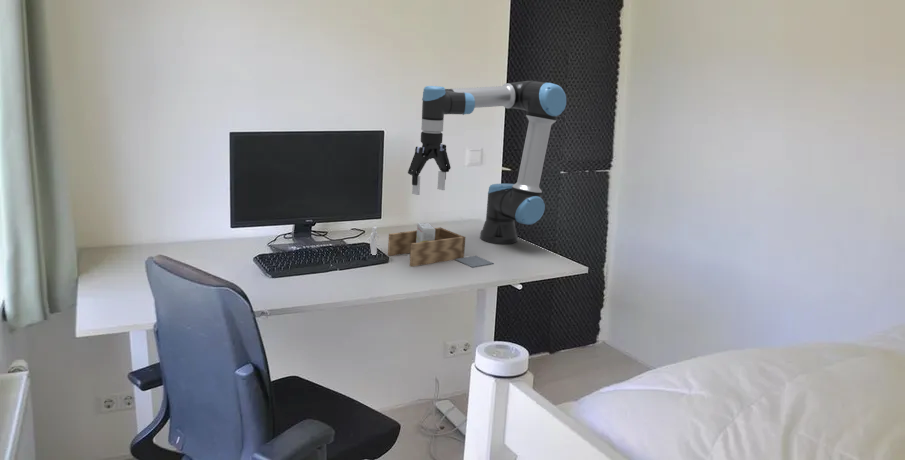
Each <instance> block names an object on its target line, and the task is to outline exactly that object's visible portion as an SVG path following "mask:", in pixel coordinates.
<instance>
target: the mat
mask: <svg viewBox="0 0 905 460" xmlns="http://www.w3.org/2000/svg"><path fill="white" fill-rule="evenodd" d="M454 261H456V262H459V263H461V264H464V265H466V266H468V267H470V268H472V269H473V268H479V267H484V266H491V265H494V262H492V261H490V260H488V259H485V258H483V257H480V256H478V255H470V256H464V258H458V259H455V260H454Z"/></svg>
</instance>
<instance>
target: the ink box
mask: <svg viewBox="0 0 905 460" xmlns="http://www.w3.org/2000/svg"><path fill="white" fill-rule="evenodd" d="M416 225H417V226H416V230H417V236H416V243H419V242H426V241H433V240H435V228H436V227H433V225H431V223H428V222H427V223H426V222H425V223H424V222H417V224H416Z"/></svg>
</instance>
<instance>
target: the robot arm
mask: <svg viewBox="0 0 905 460" xmlns="http://www.w3.org/2000/svg"><path fill="white" fill-rule="evenodd" d="M421 101H422V104H421V105H422V107H421V108H422V109H421V132H420V143H421V144H422V145H421V146H415V148H414V154H413V157H412V160H411V163H410V166H409V168H408V170H407V174H408V175H410V176H411V177H412V178H411V185H412V186H411V187H412V190H411V191H412V192H411V194H413V195H415V196H419V195H420V192H421V176H420V174H421V172H422V171H423V169H424V167H425V165H426V163H427V162H428V161H429V160H433V159H434V161H435V163H436V165H437V167H438V169H439V171H438V174H437V175H438V176H437V190H441V191H445V189H446V187H445V185H446V179H447V173H449V172H450V170H451V168H452V167H451V163H450V159H449V155H448V152H447V145H446V144H443V135H444V134H443V133H442V132H444V117H445V115H462V116H464V115H470V114H472V113H473V112H474V111H475V108H478V109H479V108H493V107H495V108H496V107H503V108H505V109H515V110H517V109H518V110H521V111H522V110H523V111H526V115H525V117H526V119H527V120H528V125H527V129H526V130H527V131H526V136H525V141H524V145H523V151H522V156H521V162H520V166H519V170H518V175H517V176H518V177H517V181H516V183H492V184H490V185H489V187H488V192H487V204H486V217H485V221H484V224H483V225H482V226H483V227H482V230H481V231H480V235H479V239H481V240H482V241H484V242H488V243H491V244H499V245H509V244H510V245H511V244H515V243H516V242H518V233H517V228H516V223H515V222H517V223H519V224H523V225H526V226H528V225H529V226H530V225H533V224H535V223H537V222H538V221H540V220H541V219H542V216H543V215H544V212H545V209H546V205H545V204H546V203H545V202H544V200H543V198H542V192H543V191H542V189H541V188H540V183H541V177H542V174H543V167H544V163H545V158H546V154H547V148H548V142H549V139H550V138H549V137H550V134H551V128H552V125H553V124H554V123H556V122H557V119H558V116H560V115H562V112H564V111H565V109H566V106H567V95H566V93H565V90H564V89H563V88H562V86H560V85H558V84H556V83H552V82H546V81H545V82H544V81H537V80H525V81H516V82H508V83H503V85H500V86H497V85H496V86H481V87H478V86H477V87H462V88H461V87H459V88H458V87H457V88H456V87H455V88H445V87H444V86H439V85H438V86H437V85H426V86H424V88H423V92H422V99H421Z"/></svg>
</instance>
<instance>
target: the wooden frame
mask: <svg viewBox="0 0 905 460" xmlns="http://www.w3.org/2000/svg"><path fill="white" fill-rule="evenodd" d="M434 228H435V240H433V241H426V242H419V243H416V236H417V229H416V230H410V231H409V230H407V231H402V232H393V233H388V239H387V241H388V244H387V245H388V246H387V256H389V257H391V256H398V255H404V254H409V266H410V267H416V266H422V265H429V264H436V263H442V262H448V261H453V260H454V261H456V260H455V259H458V258H464V257H465V247H466V236H463V235H461V234H458V233H456V232H453V231H450V230H449V229H446V228H443V227H441V226H440V227H434Z"/></svg>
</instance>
